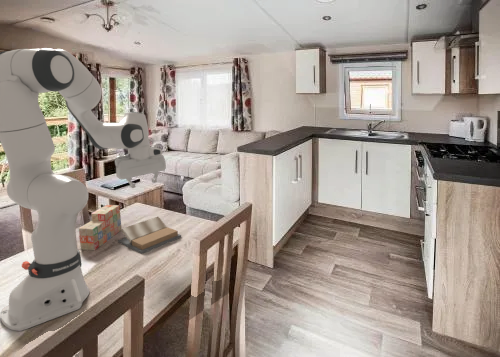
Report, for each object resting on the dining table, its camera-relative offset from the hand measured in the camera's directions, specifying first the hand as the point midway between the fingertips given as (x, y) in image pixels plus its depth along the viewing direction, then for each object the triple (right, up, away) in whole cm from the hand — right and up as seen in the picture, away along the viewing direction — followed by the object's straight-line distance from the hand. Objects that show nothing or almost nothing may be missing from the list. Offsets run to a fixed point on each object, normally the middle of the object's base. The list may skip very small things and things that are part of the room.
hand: (144, 185), depth 136 cm
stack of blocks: (-20, -24, +6) cm, 31 cm away
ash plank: (-2, -20, +6) cm, 21 cm away
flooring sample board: (+1, -24, +5) cm, 24 cm away
